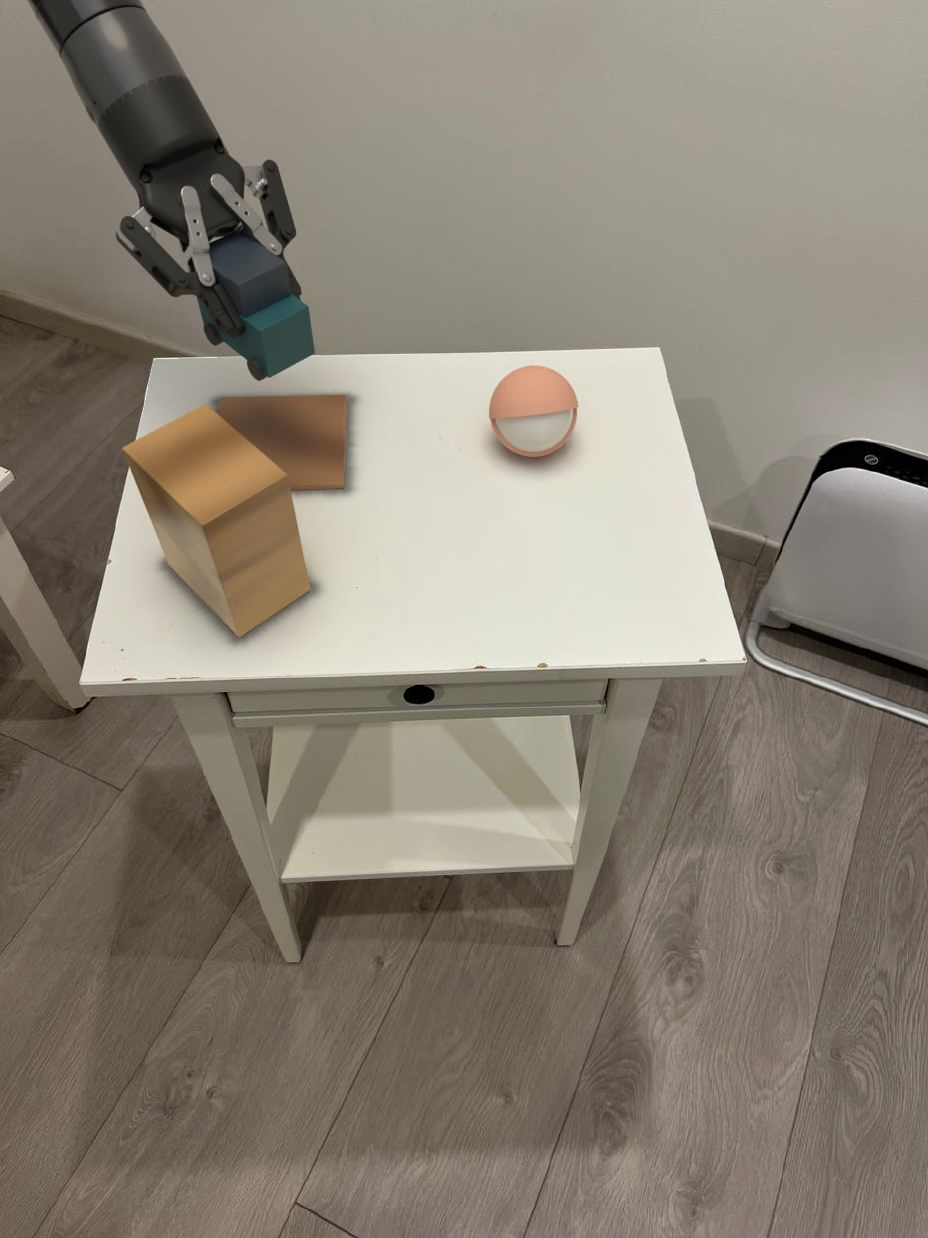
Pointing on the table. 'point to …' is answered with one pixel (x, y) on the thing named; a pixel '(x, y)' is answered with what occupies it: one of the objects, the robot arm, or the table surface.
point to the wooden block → (221, 517)
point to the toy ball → (533, 411)
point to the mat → (295, 434)
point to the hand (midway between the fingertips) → (267, 319)
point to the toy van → (259, 307)
